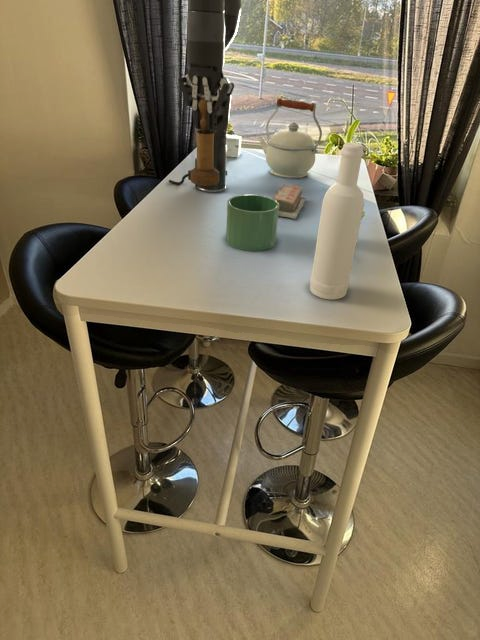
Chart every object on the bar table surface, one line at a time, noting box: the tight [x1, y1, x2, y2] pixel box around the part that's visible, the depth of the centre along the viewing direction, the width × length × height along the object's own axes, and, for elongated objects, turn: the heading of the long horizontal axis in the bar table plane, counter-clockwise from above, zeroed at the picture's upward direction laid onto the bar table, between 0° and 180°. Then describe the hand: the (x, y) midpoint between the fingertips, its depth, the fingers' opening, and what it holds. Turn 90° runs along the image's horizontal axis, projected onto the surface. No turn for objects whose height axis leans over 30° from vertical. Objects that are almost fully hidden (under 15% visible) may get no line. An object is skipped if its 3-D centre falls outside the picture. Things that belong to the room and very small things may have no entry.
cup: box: [225, 194, 280, 252], centre depth 115 cm, size 13×13×10 cm
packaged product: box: [271, 184, 307, 220], centre depth 139 cm, size 18×5×10 cm
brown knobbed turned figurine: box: [190, 98, 219, 186], centre depth 103 cm, size 7×6×18 cm
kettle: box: [258, 98, 323, 179], centre depth 167 cm, size 25×18×25 cm
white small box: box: [226, 134, 242, 158], centre depth 189 cm, size 6×6×7 cm
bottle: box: [309, 142, 365, 301], centre depth 90 cm, size 8×8×30 cm
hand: (205, 129), depth 102 cm, fingers closed on brown knobbed turned figurine, 2 cm apart
